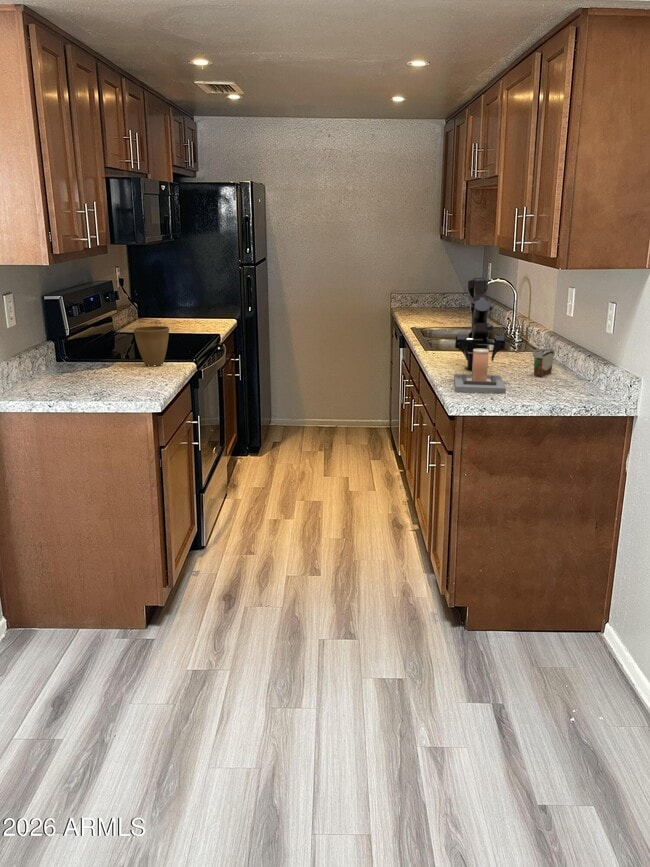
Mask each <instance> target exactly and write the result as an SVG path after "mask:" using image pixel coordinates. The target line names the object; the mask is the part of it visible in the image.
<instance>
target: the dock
mask: <svg viewBox="0 0 650 867" xmlns="http://www.w3.org/2000/svg"><path fill="white" fill-rule="evenodd" d="M453 383H454V391H455V393H470V392H488V393H487V394H499V393H505V394H506V390H507V388H506V386H505V383H504V381H503V379H502V376H501V374H487V381H472V373H453ZM491 392H492V393H491Z"/></svg>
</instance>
